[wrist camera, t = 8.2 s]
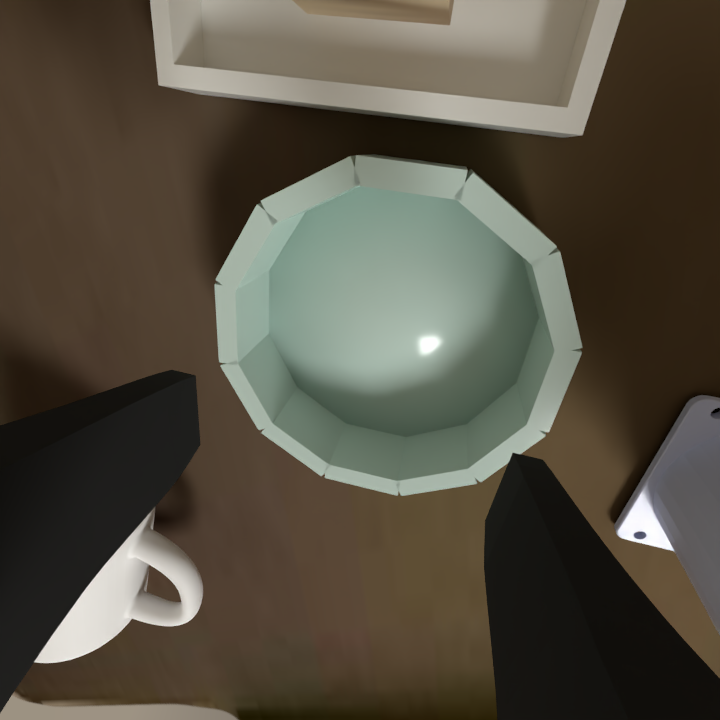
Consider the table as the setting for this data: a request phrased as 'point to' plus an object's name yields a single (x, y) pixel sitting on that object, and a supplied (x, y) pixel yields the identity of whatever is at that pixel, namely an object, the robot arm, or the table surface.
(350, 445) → the green bowl
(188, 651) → the table surface
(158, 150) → the table surface
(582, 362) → the table surface
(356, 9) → the maple block
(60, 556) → the robot arm
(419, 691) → the table surface
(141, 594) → the mug
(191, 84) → the white tray
